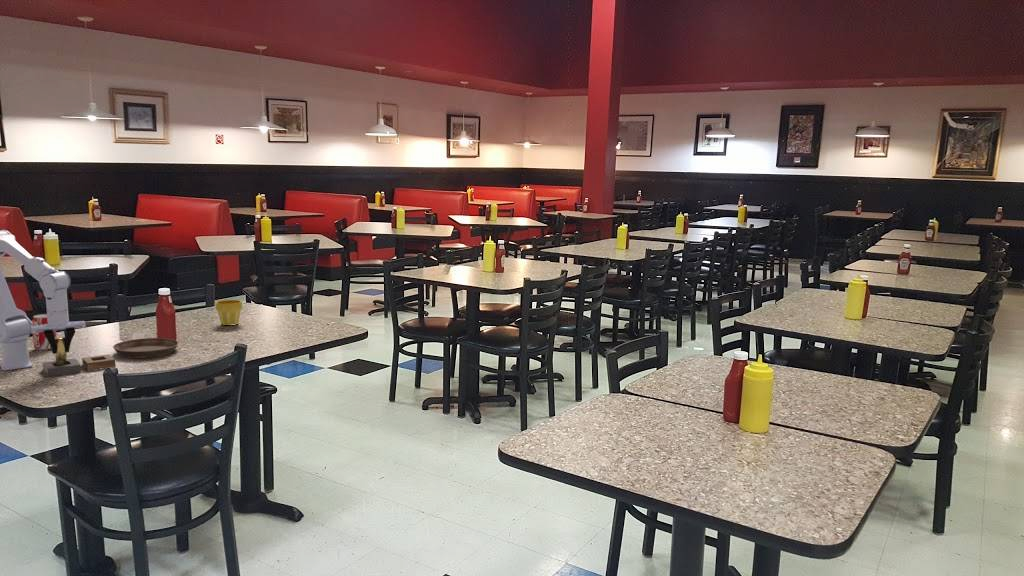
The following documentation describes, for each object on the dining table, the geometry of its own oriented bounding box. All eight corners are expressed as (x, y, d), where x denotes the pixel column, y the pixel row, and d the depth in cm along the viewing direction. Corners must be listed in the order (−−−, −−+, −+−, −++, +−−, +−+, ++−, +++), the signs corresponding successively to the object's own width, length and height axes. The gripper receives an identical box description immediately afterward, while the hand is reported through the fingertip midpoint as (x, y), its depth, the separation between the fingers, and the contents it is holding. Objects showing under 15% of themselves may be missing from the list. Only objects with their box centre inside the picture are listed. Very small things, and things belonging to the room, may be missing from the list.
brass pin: (55, 362, 230) (53, 338, 229) (66, 361, 232) (64, 336, 231) (56, 364, 228) (55, 339, 227) (67, 363, 230) (66, 338, 229)
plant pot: (216, 322, 305) (215, 299, 303) (242, 321, 309) (241, 298, 307) (216, 327, 295) (215, 304, 294) (243, 326, 299) (242, 303, 297)
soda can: (29, 349, 254) (26, 316, 252) (47, 345, 261) (45, 312, 259) (43, 352, 252) (40, 318, 250) (62, 347, 258) (59, 314, 256)
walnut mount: (82, 365, 238) (82, 357, 237) (109, 361, 243) (109, 354, 243) (87, 370, 232) (87, 363, 232) (115, 366, 237) (115, 359, 237)
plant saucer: (152, 343, 270) (151, 334, 269) (191, 350, 261) (191, 341, 260) (100, 355, 251) (99, 346, 251) (141, 363, 242) (140, 354, 242)
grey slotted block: (43, 370, 231) (42, 362, 231) (75, 365, 237) (74, 358, 237) (48, 376, 224) (47, 369, 224) (81, 372, 230) (80, 364, 230)
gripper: (32, 315, 220) (35, 358, 222) (86, 310, 229) (89, 351, 231) (28, 311, 225) (32, 353, 227) (81, 306, 234) (84, 347, 237)
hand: (60, 352), depth 230 cm, fingers closed on brass pin, 3 cm apart
